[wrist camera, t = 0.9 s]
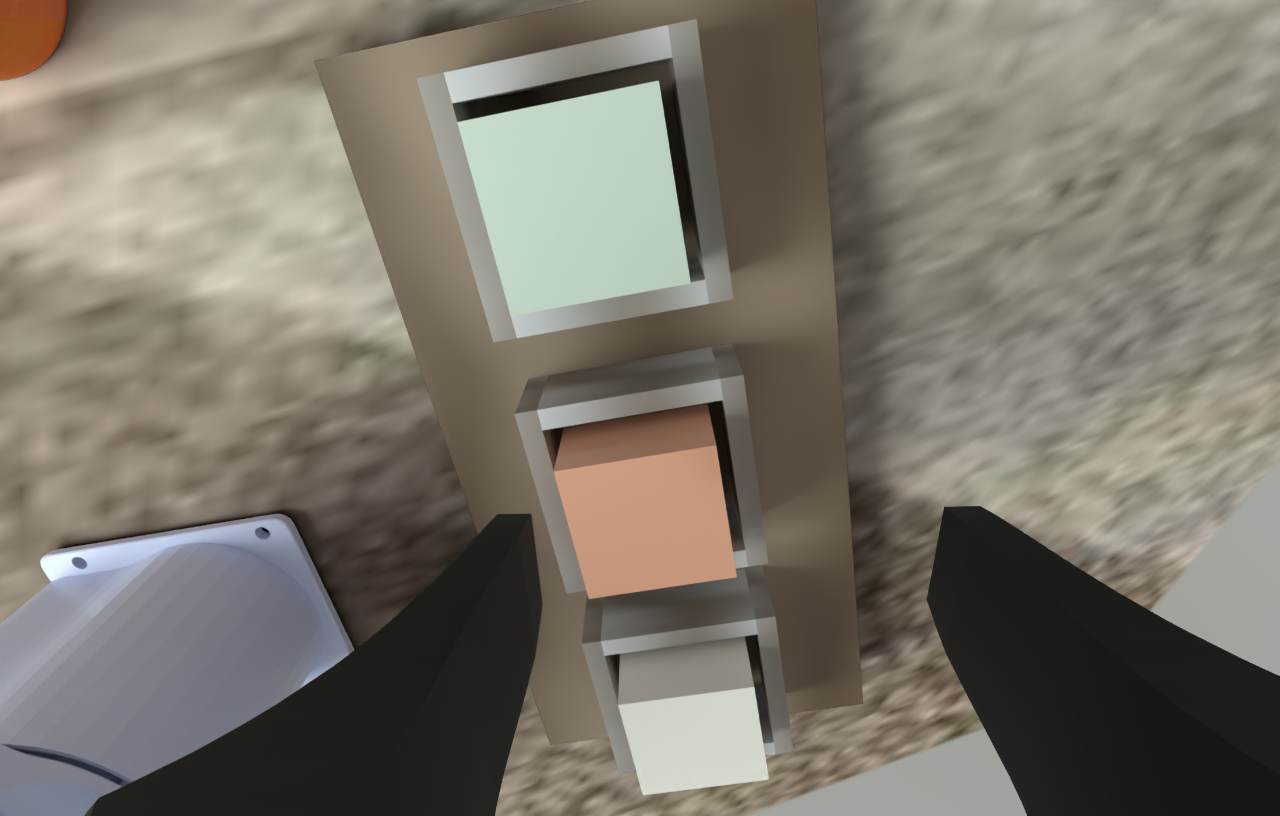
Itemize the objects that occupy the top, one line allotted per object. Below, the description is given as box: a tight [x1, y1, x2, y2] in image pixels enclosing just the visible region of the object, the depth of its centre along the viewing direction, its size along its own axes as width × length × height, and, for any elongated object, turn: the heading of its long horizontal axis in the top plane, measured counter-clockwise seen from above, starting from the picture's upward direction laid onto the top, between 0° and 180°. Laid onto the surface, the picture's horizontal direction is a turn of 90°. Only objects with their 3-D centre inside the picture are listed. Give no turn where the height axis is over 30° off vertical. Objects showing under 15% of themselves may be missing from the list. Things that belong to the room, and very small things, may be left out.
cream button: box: [618, 636, 769, 795], centre depth 22 cm, size 4×4×2 cm
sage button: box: [457, 81, 691, 316], centre depth 15 cm, size 4×4×2 cm
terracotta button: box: [554, 404, 737, 599], centre depth 18 cm, size 4×4×2 cm
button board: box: [314, 0, 863, 774], centre depth 21 cm, size 12×24×4 cm, turn 11°
